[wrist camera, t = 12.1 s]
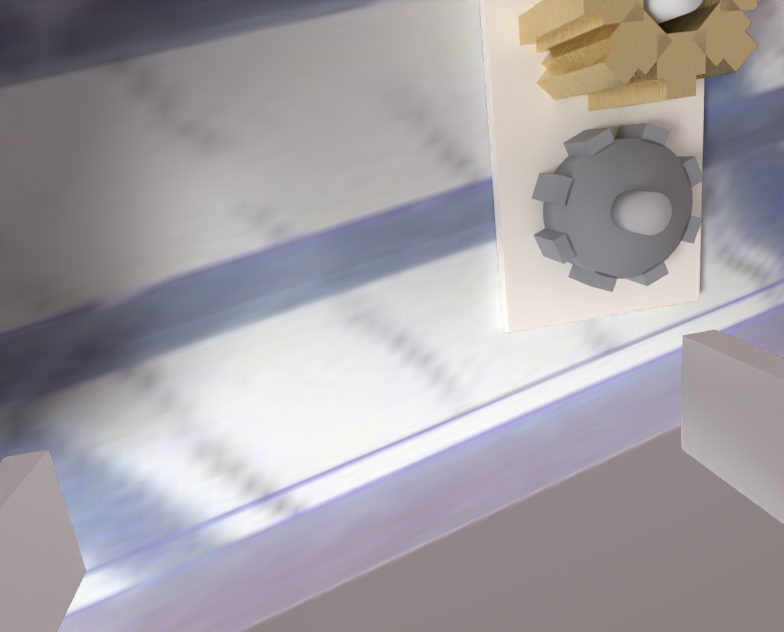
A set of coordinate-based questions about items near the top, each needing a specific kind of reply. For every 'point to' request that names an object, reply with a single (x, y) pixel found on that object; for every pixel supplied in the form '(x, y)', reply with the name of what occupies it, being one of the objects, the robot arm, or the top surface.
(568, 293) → the gear board
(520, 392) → the top surface
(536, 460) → the top surface
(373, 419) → the top surface
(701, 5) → the brass gear
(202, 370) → the top surface
